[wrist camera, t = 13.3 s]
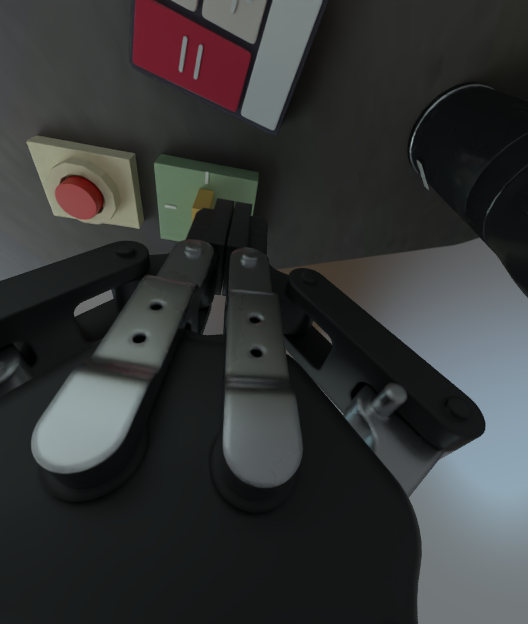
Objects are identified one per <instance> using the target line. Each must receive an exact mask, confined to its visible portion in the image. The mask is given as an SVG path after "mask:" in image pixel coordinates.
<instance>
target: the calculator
mask: <svg viewBox="0 0 528 624" xmlns="http://www.w3.org/2000/svg"><path fill="white" fill-rule="evenodd" d="M328 1H329V0H132V6H131V29H130V52H129V63H130V65H131V67H132V68H133V69H135V70H137V71H139V72H141V73H143V74H145V75H148V76H150V77H152V78H154V79H156V80H158V81H160V82H162V83H164V84H166V85H169V86H171V87H173V88H175V89H177V90H179V91H181V92H183V93H185V94H188V95H190V96H192V97H194V98H196V99H198V100H200V101H202V102H204V103H206V104H209V105H211V106H213V107H215V108H217V109H219V110H221V111H223V112H225V113H227V114H230V115H232V116H234V117H236V118H238V119H240V120H242V121H244V122H246V123H248V124H251V125H253V126H255V127H257V128H259V129H261V130H263V131H265V132H267V133H269V134H272V135H277V134H278V132H279V130H280V127H281V125H282V122H283V119H284V117H285V114H286V111H287V109H288V106H289V104H290V101H291V98H292V96H293V93H294V90H295V88H296V85H297V83H298V80H299V77H300V75H301V72H302V69H303V67H304V64H305V62H306V59H307V56H308V54H309V51H310V48H311V46H312V43H313V41H314V38H315V35H316V33H317V30H318V27H319V25H320V22H321V20H322V17H323V14H324V12H325V9H326V6H327V4H328Z"/></svg>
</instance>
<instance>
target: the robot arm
mask: <svg viewBox="0 0 528 624" xmlns="http://www.w3.org/2000/svg"><path fill="white" fill-rule="evenodd" d="M408 158H409V162H410V164H411V166H412V167H413V169H414V170H415V171H416V172H417V173H418V174H419V175H420V176H421V177H422V180H423V183H424V186H425V187H426V188H427V189H428V185H427V182H428V183H429V184H430V186H431V187H432V188H433V189H434V190H435V191H436V192H437V193H438V194H439V195H440V196H441V197H442V198H443V199H444V200H445V201H446V202H447V203H448V205H449V206H450V207H451V208H452V209H453V210H454V211H455V212H456V213H457V214H458V215H459V216H460V217H461V218H462V219H463V220H464V221H465V223H466V224H467V225H468V226H469V227H470V228H471V229H472V230H473V231H474V232H475V233H476V234H477V235H478V236H479V237H480V238H481V239H482V240H483V241H484V242H485V243H486V244H487V245H488V247H489V248H491V250H492V251H493V252H494V253H495V254H496V255H497V256H498V258H499V259H500V261H501V262H502V264H503V265H504V267H505V268H506V270H507V271H508V273H509V274H510V276H511V278H512V279H513V280H514V282H515V283H516V284H517V286H518V287H519V288H520V290H521V291H522V292H523V293H524V294H525V295H526V296H527V298H528V101H525V100H522V99H519V98H516V97H513V96H510V95H507V94H505V93H502V92H499V91H496V90H494V89H493V88H491V87H489V86H486V85H483V84H479V83H466V84H462V85H458V86H456V87H453V88H451V89H449V90H447V91H446V92H444V93H442V94H441V95H440V96H438V97H437V98H436V99H435V100H433V101H432V102H431V103H430V104H429V105H428V106H427V107H426V109H425V110H424V111H423V112H422V114H421V115H420V116H419V118H418V120H417V121H416V123H415V125H414V127H413V129H412V131H411V134H410V137H409V142H408ZM428 190H429V189H428ZM234 202H235V201H232V200H226V199H220V198H217V201H216V204H215V207H214V209H209V208H202V209H201V210H199V211H198V212H196V215H195V217H194V220H193V222H192V225H191V227H190V230H189V232H188V234H187V237H186V239H185V240H183V241H180V242H178V243H177V244H176V245H175V246H174V247H173V249H172V251H171V252H170V253H169V254H160V255H149V251H148V249H147V247H146V246H144V245H143V244H141V243H138V242H134V241H119V242H115V243H111V244H108V245H105V246H103V247H100V248H97V249H94V250H91V251H88V252H85V253H82V254H79V255H76V256H73V257H70V258H67V259H64V260H61V261H58V262H55V263H52V264H49V265H47V266H44V267H41V268H38V269H35V270H32V271H29V272H26V273H23V274H20V275H17V276H14V277H11V278H8V279H5V280H2V281H0V624H418V619H417V617H418V616H417V593H418V580H419V573H420V565H421V557H422V551H421V550H422V549H421V536H420V529H419V525H418V522H417V518H416V515H415V512H414V509H413V506H412V504H411V502H410V500H409V497H410V495H411V494H412V493H413V491H414V490H415V489H416V488H417V487H418V485H419V484H420V483H421V481H422V480H423V479H424V478H425V476H426V475H427V474H428V473H429V471H430V470H431V469H432V468H433V466H434V465H435V464H436V463H437V461H438V460H439V459H441V458H443V457H445V456H446V455H448V454H450V453H452V452H453V451H455V450H457V449H459V448H461V447H462V446H464V445H466V444H467V443H469V442H471V441H473V440H474V439H476V438H478V437H480V436H481V435H482V434H483V433H484V431H485V420H484V417H483V415H482V413H481V411H480V409H479V408H478V406H477V405H476V404H475V403H474V402H473V401H472V400H471V399H470V398H469V397H468V396H467V395H466V394H465V393H463V392H462V391H461V390H460V389H458V388H457V387H456V386H455V385H454V384H452V383H451V382H450V381H449V380H448V379H446V378H445V377H444V376H443V375H442V374H440V373H439V372H438V371H437V370H436V369H434V368H433V367H432V366H431V365H430V364H428V363H427V362H426V361H425V360H424V359H422V358H421V357H420V356H419V355H418V354H416V353H415V352H414V351H413V350H412V349H410V348H409V347H408V346H407V345H405V344H404V343H403V342H402V341H401V340H400V339H398V338H397V337H396V336H395V335H394V334H392V333H391V332H390V331H389V330H387V329H386V328H385V327H384V326H383V325H381V324H380V323H379V322H378V321H376V320H375V319H374V318H373V317H372V316H370V315H369V314H368V313H367V312H366V311H365V310H363V309H362V308H361V307H360V306H359V305H357V304H356V303H355V302H354V301H352V300H351V299H350V298H349V297H348V296H346V295H345V294H344V293H343V292H342V291H341V290H339V289H338V288H337V287H336V286H335V285H333V284H332V283H331V282H330V281H328V280H327V279H326V278H325V277H324V276H322V275H321V274H320V273H318V272H316V271H314V270H311V269H307V268H298V269H295V270H293V271H291V273H290V274H289V275H287V274H284V273H282V272H280V271H278V270H276V269H274V268H273V267H272V266H271V265H270V264H269V259H268V257H267V223H266V221H265V220H264V218H263V217H257V216H251V213H252V204H249V203H244V202H238V201H236V203H235V208H234ZM223 279H224V280H223ZM222 285H223V291H222V295H223V296H226V302H225V311H224V327H223V334H222V335H221V334H220V335H203V332H204V329H205V326H206V323H207V320H208V317H209V314H210V311H211V303H212V302H213V299H214V294H215V295H221V289H222ZM110 289H111V290H112V294H113V297H114V299H112V300H110V301H108V302H106V303H103V304H101V305H99V306H97V307H95V308H93V309H91V310H89V311H86V312H84V313H82V314H80V315H78V316H76V317H74V310H75V308H76V307H77V306H78V305H79V304H80V303H81V302H83V301H86V300H88V299H90V298H92V297H95V296H97V295H99V294H101V293H104V292H106V291H108V290H110ZM313 321H314V322H316V324H318V325H319V326H320V327H321V328H322V329H323V330H324V331H325V332H326V333H327V334H328V335H329V337H330V338H331V341H332V344H331V343H330V342H329V341H328V340H327V339H326V338H325V337H324V336H323V335H321V333H319V332H318V331H317V330H316V329H315V328H314V327H313V326H312V323H313ZM285 349H286V350H287V351H288V352H289V353H290V355H291V356H292V357H293V358H294V359H295V360H296V361H295V360H294V359H293V358H292V357H290V356H289V355H287V354H286V350H285ZM314 381H315V382H314ZM319 387H320V388H321V389H322V390H323V391H324V392H323V391H322V390H321V389H320V388H319ZM324 393H325V394H326V395H327V396H328V397H329V398H330V399H331V400H332V401H333V402H334V404H335V405H336V406H337V407H338V408H339V409H340V410H341V412H342V413H343V414H344V415H342V414H341V413H340V411H339V410H338V409H337V408H336V407H335V405H334V404H333V403H332V402H331V401H330V400H329V398H328V397H327V396H326V395H325V394H324Z"/></svg>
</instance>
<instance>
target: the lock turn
mask: <svg viewBox="0 0 528 624" xmlns="http://www.w3.org/2000/svg"><path fill="white" fill-rule="evenodd" d="M213 203H214V191H211V190H205V189H199V191H198V193H197V196H196V199H195V201H194V204H193V206H192V222H193V220H194V217H195V215H196V212H198V211H199V210H201V209H202V208H209V209H213Z"/></svg>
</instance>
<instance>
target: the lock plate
mask: <svg viewBox="0 0 528 624" xmlns="http://www.w3.org/2000/svg"><path fill="white" fill-rule="evenodd" d="M154 168H155V179H156V190H157V200H158V211H159V222H160V233H161V239H168V240H174V241H183V240H185V239H186V237H187V234H188V232H189V230H190V227H191V225H192V206H193V204H194V201H195V199H196V196H197V193H198V191H199V189H205V190H211V191H214V203H213V209H214V207H215V204H216V201H217V198H220V199H226V200H232V201H235V202H234V208H235V203H236V201H238V202H244V203H249V204H252V213H251V216H253V211H254V205H255V199H256V193H257V186H258V176H259V172H255V171H249V170H244V169H239V168H233V167H228V166H223V165H218V164H212V163H207V162H202V161H196V160H191V159H186V158H180V157H175V156H170V155H164V154H160V155H159V157H158V158H157V159H156V161H155V162H154Z"/></svg>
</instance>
